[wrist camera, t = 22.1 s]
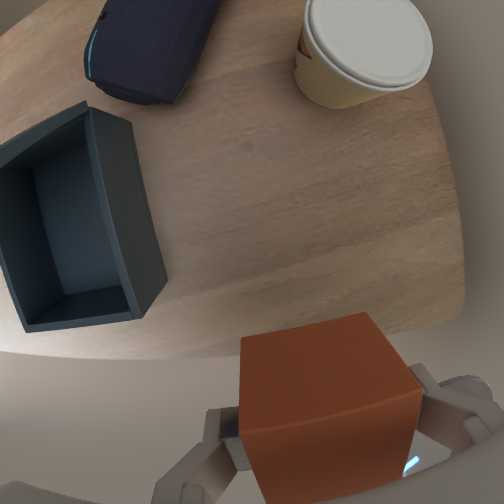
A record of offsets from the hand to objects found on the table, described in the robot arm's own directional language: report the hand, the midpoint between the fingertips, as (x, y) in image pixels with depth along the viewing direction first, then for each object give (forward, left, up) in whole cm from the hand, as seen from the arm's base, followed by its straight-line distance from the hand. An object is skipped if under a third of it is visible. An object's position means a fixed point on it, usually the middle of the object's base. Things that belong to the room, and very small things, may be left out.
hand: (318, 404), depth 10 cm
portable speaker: (+27, +4, -22) cm, 35 cm away
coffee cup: (+16, -9, -22) cm, 29 cm away
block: (0, 0, -2) cm, 2 cm away
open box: (+7, +18, -22) cm, 29 cm away
